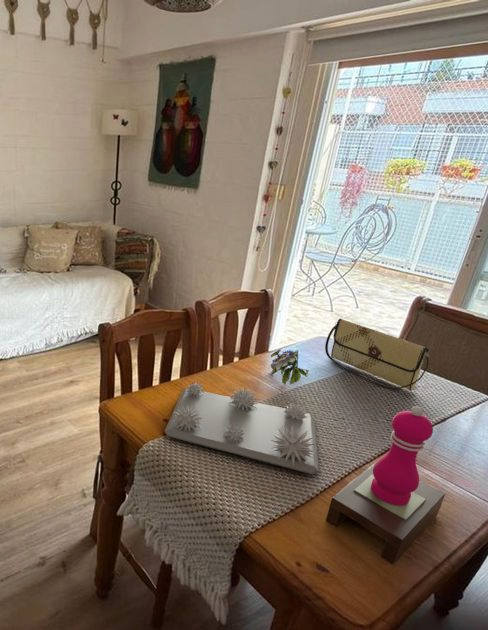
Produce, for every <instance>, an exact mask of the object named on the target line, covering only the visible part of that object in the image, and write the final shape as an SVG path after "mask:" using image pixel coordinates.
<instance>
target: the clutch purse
mask: <svg viewBox="0 0 488 630" xmlns="http://www.w3.org/2000/svg"><path fill="white" fill-rule="evenodd" d="M332 334H333V343H332V348H331V354H329V342H330V339H331V337H332ZM324 346H325V347H324V350H325V354H326V356H327V357H328V359H329V360H330V361H331V362H333V363H334V364H335V365H337V366H338V367H340V368H341V369H343V370H345V371H347V372H349V373H350V374H353V375H355V376H356V377H358V376H360V377H363V378H365V379H367V380H370V381H372V382H373V383H372V382H371V383H372V384H374V383H375V384H374V385H377V386H380V387H383V388H386V389H390V390H399V389H400V390H401V389H403V388H404V389H406V390H409V392H412V391H413V390H414V388H415V386H416V384H417V382H419V381H420V380H421V379H422V378H423V376H424V374H425V373H426V372H427V369H428V367H429V357H430V355H429V353H428V352H429V350H430V349H429V347H426V346H423V345H420V344H416V343H414V342H411V341H408V340H405V339H403V338H399V337H396V336H393V335H390V334H387V333H385V332H381V331H378V330H375V329H372V328H371V327H366V326H363V325H360V324H357V323H355V322H351V321H349V320H346V319H343V318H339V319H338V320H337V321H336V322H335V324H334V326H333V327H332V328H331V330H330V331H329V333H328V335H327V337H326V340H325V344H324ZM425 359H426V364H425V368H424V370H423V372H422V373H420V372H421V370H422V367H423V363H424V360H425ZM337 361H339V362H341V363H344V364H347V365H349V366H351V367H353V368H356V369H358V370H361V371H363V372H365V373H368V374H370V375H373V376H375V377H378V378H380V379H382V380H385V381H387V382H390V383H392V384H394V385H397V386H399V387H392V386H388V385H386V384H382V383H380V382H377V381H374V380H371V379H370V378H367V377H365V376H363V375H361V374H359V373H357V372H354V371H353V370H351V369H349V368H347V367H345V366H344V365H342V364H341V363H339V362H337ZM420 374H421V375H420ZM419 375H420V377H419ZM360 377H359V378H360ZM363 378H362V379H363ZM365 379H364V380H365ZM367 380H366V381H367Z"/></svg>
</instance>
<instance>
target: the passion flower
mask: <svg viewBox="0 0 488 630" xmlns="http://www.w3.org/2000/svg"><path fill="white" fill-rule="evenodd" d="M282 350H283V349H282V348H279V349H277V350H276V351H274V352H273V353H272V354H270V358H273V357H275V356H276V357H275V358H274V359H272V363H271V364H270V368H271V369H272V370H271V371H270V374H271V375H273V374H276V373H277V372H278V371H280V374H281V375H282V377H281V383H282V384H283V385H284V386H286V385H287V382H288V381H289V380H290V381H289V385H293V384H295V383H298V382H299V381H300V380H301V378H302V376H304V377H305V378H307V377H308V374H309V371H310V369H306V368H305V369H304V368H300V367H299V350H297V349H296V350H295V351H294V350H285V351H282ZM281 351H282V353H281ZM301 375H302V376H301Z"/></svg>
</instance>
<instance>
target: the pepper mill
mask: <svg viewBox="0 0 488 630" xmlns="http://www.w3.org/2000/svg"><path fill="white" fill-rule="evenodd" d="M391 428H392V432H391V435H390V441H391V446H390V448H389V449H388V451H387V452H386V453H385V454H384V455H383V456H382V457H380V458H379V459H377V461H375V463H376V464H375V465H374V468H373V475H374V477H375V478H374V479H373V481H372V484H371V490H372V492H373V493H374V495H375V496H377V497H378V498H379V499H381V500H382V501H384V502H387V503H389V504H392V505H397V506H403V505H406V504H408V503H409V500H410V497H411V492H414V491H415V490H416V489H417V488H418V485H419V480H420V474H419V469H418V466H417V456H418V453H419V452H421V451H423V450H424V446H425V445H426V441H427V440H429V439H431V437H432V436H433V432H434V425H433V423H432V421H431V420H430V419H429V418H428V417H426V415H424V409H423V408H421V407H420V406H417V405H416V406H413V407H411V409H410V410H402V411H400V412H397V413H396V414H395V415H394V416H393V418H392V420H391Z"/></svg>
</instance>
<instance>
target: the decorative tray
mask: <svg viewBox="0 0 488 630" xmlns="http://www.w3.org/2000/svg"><path fill="white" fill-rule="evenodd" d="M198 383H199V381H197V382H196V381H194V382H193V381H191V382H188V384H189V385H187V384H186V386H187V387H186V388H184V389H182V391H181V393H180V396H179V398H178V400H177V402H176V404H175V406H174V409H173V411H172V413H171V416H170V418H169V420H168V423H167V424H166V427H165V429H164V433H165V434H166V436H167V437H169V438H171V439H175V440H178V441H183V442H187V443H191V444H194V445H198V446H202V447H206V448H210V449H212V450H217V451H220V452H226V453H229V454H232V455H236V456H240V457H244V458H248V459H251V460H255V461H258V462H263V463H266V464H271V465H275V466H278V467H282V468H285V469H290V470H293V471H296V472H301V473H305V474H307V475H315V474H318V473H319V472H320V469H319V468H320V467H319V459H318V458H319V455H318V444H317V434H316V432H317V431H316V422H315V421H316V420H315V418H314V417H313V415H312V414H311V413H308V412H307V408H304V405H302V406H300V403H297V405H296V402H294V404H293V403H291V402H289V405H290V406H289V405H288V404H286V408H285V407H278V406H274V405H270V404H265V403H261V402H257V401H256V400H259V398H258V397H257V396H256V395H257V393H255V392H254V389H252V390H251V391H249V387H247V388H246V387H244V386H242V390H241V388H240V387H239V386H237V389H238V391H237V390H235V389H233V391H234V393H232V392H230V395H231V396H227V395H223V394H218V393H214V392H209V391H205V390H204V389H203V385H202V384H201V383H199V384H198ZM254 393H255V394H254Z"/></svg>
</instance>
